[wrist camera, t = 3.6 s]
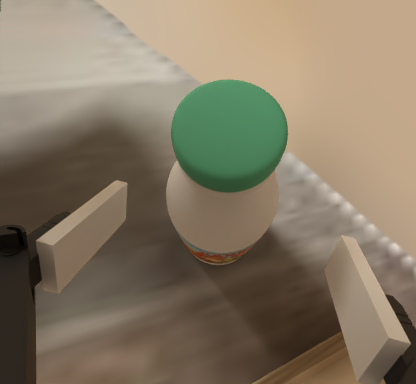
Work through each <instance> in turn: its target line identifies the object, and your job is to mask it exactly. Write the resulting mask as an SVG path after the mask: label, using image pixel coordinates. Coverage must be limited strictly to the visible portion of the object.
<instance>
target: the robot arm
mask: <svg viewBox="0 0 416 384" xmlns="http://www.w3.org/2000/svg"><path fill="white" fill-rule="evenodd" d="M0 11H1V0H0ZM126 206H127V183H126V182H122V181H118V180H115V181H114V182H113V183H111V184H110V185H109V186H107V187H106V188H105V189H103V190H102V191H101V192H100V193H98V194H97V195H96V196H94V197H93V198H92V199H90V200H89V201H88V202H86V203H85V204H84V205H82V206H81V207H80V208H78V209H77V210H76V211H74V212H73V213H69V212H64V213H62V214H59V215H56V216H55V217H53V218H52V219H51V220H49V221H48V222H46V223H45V224H43V225H42V227H39V228H38V229H36V230H35V231H34V232H32V233H31V234H29V235H28V236H26V231H25V229H24V228H23V227H21V226H16V225H7V226H2V227H0V384H36V314H35V286H36V285H37V284H38V283H39V282H40V281H41V282H42V289H43V290H45V291H48V292H52V293H55V294H59V293H60V292H61V291H62V290H63V289H64V287H65V286H66V285H67V284H68V283H69V282H70V281H71V280H72V279H73V278H74V276H75V275H76V274H77V273H78V272H79V271H80V270H81V269H82V268H83V267H84V265H85V264H86V263H87V262H88V261H89V260H90V259H91V258H92V257H93V256H94V254H95V253H96V252H97V251H98V250H99V249H100V248H101V247H102V246H103V245H104V243H105V242H106V241H107V240H108V239H109V238H110V237H111V236H112V235H113V234H114V232H115V231H116V230H117V229H118V228H119V227H120V226H121V225H122V224H123V223H124V221H125V220H126ZM324 273H325V276H326V279H327V283H328V286H329V289H330V293H331V296H332V300H333V303H334V306H335V310H336V313H337V316H338V320H339V323H340V326H341V330H342V333H343V337H344V340H345V343H346V347H347V350H348V353H349V357H350V360H351V363H352V367H353V370H354V374H355V377H356V380H357V382H359V383H362V384H380V383H381V381H382V380H383V379H384V381H385V383H386V384H416V329H415V327H414V326H412V322H411V320H410V319H409V318H408V315H407V314H406V312H405V310H404V308H403V307H402V305H401V304H400V303H399V302H398V301H397V300H396V299H395V298H394V297H393V296H390V295H386V294H384V292H383V290H382V289H381V287H380V285H379V283H378V281H377V279H376V277H375V275H374V274H373V272H372V270H371V268H370V266H369V264H368V262H367V260H366V259H365V257H364V255H363V253H362V251H361V249H360V247H359V246H358V244H357V242H356V240H355V238H351V237H347V236H343V235H341V236H340V238H339V241H338V243H337V245H336V247H335V249H334V251H333V253H332V255H331V257H330V259H329V262H328V264H327V266H326V268H325V270H324Z"/></svg>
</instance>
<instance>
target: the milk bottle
mask: <svg viewBox="0 0 416 384" xmlns="http://www.w3.org/2000/svg"><path fill="white" fill-rule="evenodd" d="M287 129H288V128H287V121H286V117H285V115H284V112H283V110H282V108H281V107H280V105H279V104H278V103H277V101H276V100H275V99H274V98H273V97H272V96H271V95H270V94H269V93H268V92H266V91H265V90H263V89H262V88H260V87H258V86H256V85H253V84H251V83H247V82H244V81H239V80H219V81H214V82H210V83H207V84H204V85H202V86H200V87H198V88H196V89H195V90H193V91H192V92H190V93H189V94H188V95H187V96H186V97H185V98H184V99H183V100H182V102H181V103H180V104H179V106H178V108H177V110H176V112H175V115H174V118H173V122H172V128H171V137H172V143H173V148H174V152H175V155H176V158H177V161H176V162H175V164H174V166H173V168H172V170H171V172H170V175H169V178H168V182H167V189H166V200H167V208H168V212H169V216H170V218H171V221H172V223H173V225H174V227H175V229H176V231H177V233H178V235H179V236H180V238H181V240H182V241H183V243H184V244H185V246H186V247H187V249H188V250H189V251H190V252H191V253H192V254H193V255H194V256H195V257H196V258H197V259H199V260H201V261H203V262H205V263H208V264H212V265H225V264H229V263H232V262H234V261H236V260H238V259H239V258H241V257H242V256H243V255H244V254H245V253H246V252H248V251H249V250H250V249H251V248H252V247H253V246H254V245H255V244H256V243H257V242H258V241H259V239H260V238H261V237H262V236H263V235H264V233H265V232H266V231H267V229H268V228H269V226H270V224H271V223H272V220H273V218H274V215H275V213H276V209H277V205H278V183H277V179H276V175H275V172H274V170H275V168H276V167H277V165H278V163H279V162H280V160H281V157H282V155H283V153H284V151H285V148H286V144H287V136H288V130H287Z"/></svg>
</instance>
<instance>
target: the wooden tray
mask: <svg viewBox="0 0 416 384" xmlns="http://www.w3.org/2000/svg"><path fill="white" fill-rule="evenodd" d="M252 384H362V383H359V382H357V380H356V377H355V374H354V370H353V367H352V363H351V360H350V357H349V353H348V350H347V347H346V343H345V340H344V337H343V333H342V331H341V332H339V333H337V334H336V335H334V336H332V337H330V338H329V339H327V340H325V341H324V342H322V343H320V344H318V345H317V346H315V347H313V348H312V349H310V350H308V351H307V352H305V353H303V354H301V355H300V356H298V357H296V358H295V359H293V360H291V361H289V362H288V363H286V364H284V365H283V366H281V367H279V368H278V369H276V370H274V371H272V372H271V373H269V374H267V375H266V376H264V377H262V378H260V379H259V380H257V381H255V382H254V383H252ZM380 384H386V383H385V381H384V379H383V380H382V381H381V383H380Z"/></svg>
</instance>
